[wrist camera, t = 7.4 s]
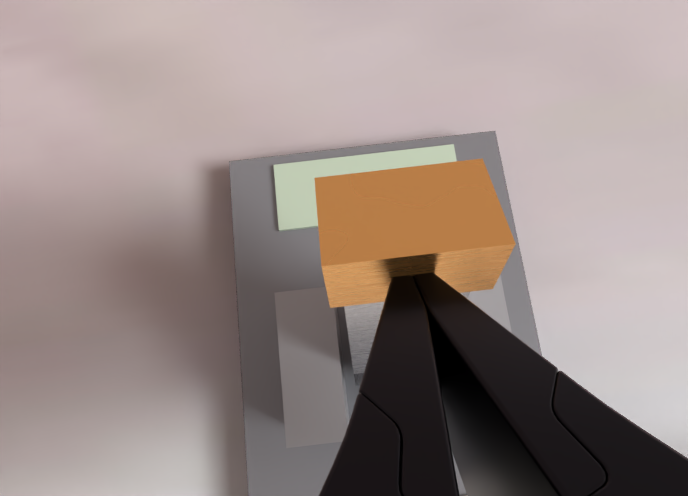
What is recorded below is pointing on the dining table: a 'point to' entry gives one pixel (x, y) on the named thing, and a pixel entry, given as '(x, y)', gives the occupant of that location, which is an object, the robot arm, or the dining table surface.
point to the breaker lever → (406, 237)
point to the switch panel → (306, 273)
